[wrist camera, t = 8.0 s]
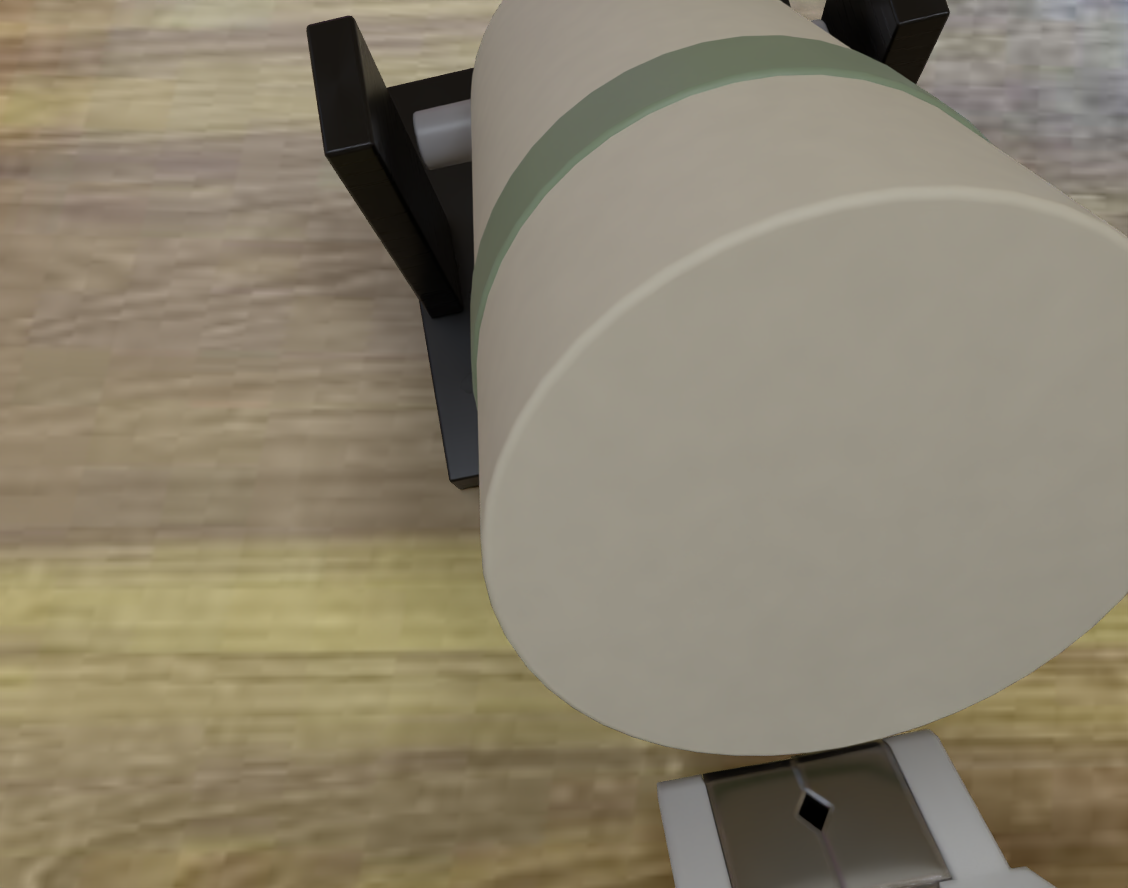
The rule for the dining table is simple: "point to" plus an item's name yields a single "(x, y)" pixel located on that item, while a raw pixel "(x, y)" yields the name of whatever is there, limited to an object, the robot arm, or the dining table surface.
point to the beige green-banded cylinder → (776, 379)
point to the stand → (445, 195)
